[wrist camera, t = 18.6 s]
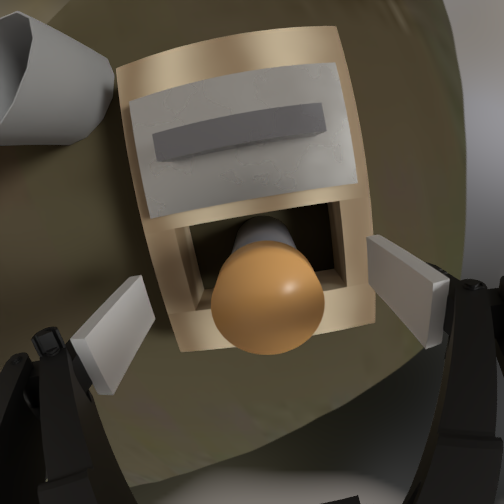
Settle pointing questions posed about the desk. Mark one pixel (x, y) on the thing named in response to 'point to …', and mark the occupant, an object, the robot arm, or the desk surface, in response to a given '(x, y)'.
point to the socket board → (177, 225)
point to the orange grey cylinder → (266, 291)
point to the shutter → (243, 137)
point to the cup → (49, 84)
